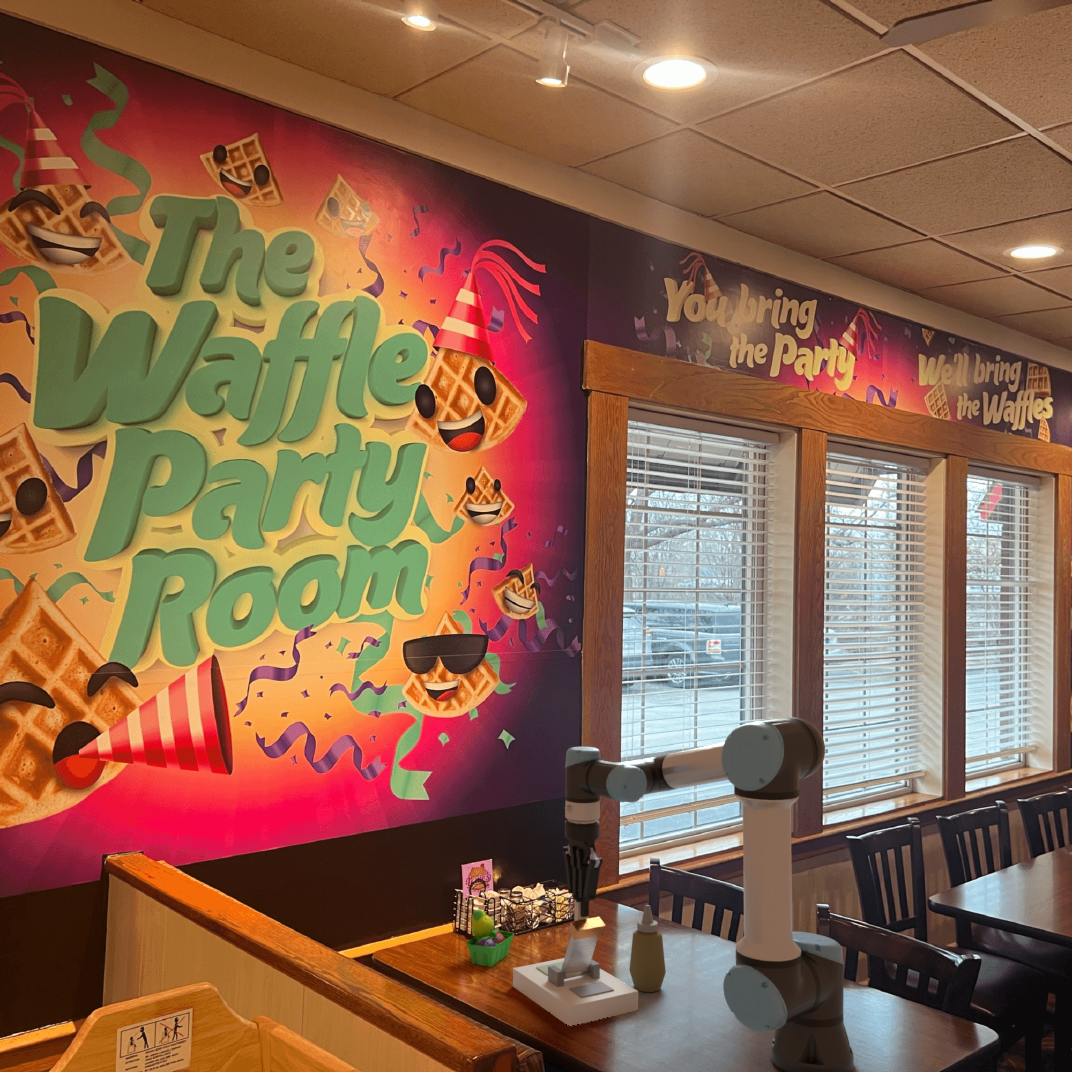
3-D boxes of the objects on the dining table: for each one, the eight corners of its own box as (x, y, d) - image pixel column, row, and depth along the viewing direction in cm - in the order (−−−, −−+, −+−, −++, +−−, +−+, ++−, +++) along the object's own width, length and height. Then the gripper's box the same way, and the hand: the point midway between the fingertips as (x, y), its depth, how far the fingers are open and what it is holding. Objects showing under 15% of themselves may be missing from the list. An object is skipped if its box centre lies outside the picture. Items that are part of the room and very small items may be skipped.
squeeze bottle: (664, 996, 222) (664, 912, 223) (627, 993, 224) (627, 909, 225) (667, 982, 230) (667, 901, 231) (631, 979, 232) (631, 899, 233)
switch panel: (638, 1010, 215) (638, 976, 215) (569, 1026, 206) (569, 991, 207) (577, 972, 236) (577, 942, 236) (512, 986, 227) (513, 954, 228)
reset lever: (589, 977, 222) (605, 925, 218) (561, 983, 219) (577, 930, 214) (583, 968, 225) (599, 916, 220) (555, 974, 221) (570, 921, 216)
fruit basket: (493, 970, 237) (493, 920, 238) (460, 963, 241) (460, 915, 242) (515, 954, 247) (515, 907, 248) (483, 948, 251) (483, 902, 252)
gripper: (552, 815, 224) (551, 924, 223) (583, 827, 213) (582, 942, 212) (581, 812, 228) (580, 919, 227) (613, 824, 217) (612, 936, 216)
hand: (581, 930), depth 219 cm, fingers closed
